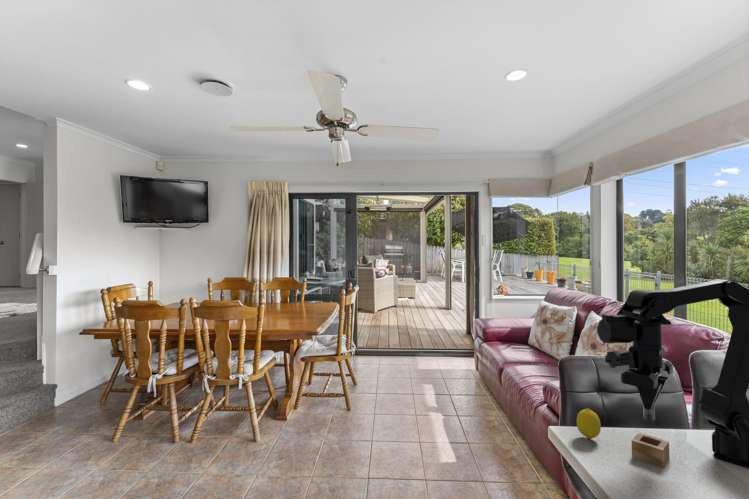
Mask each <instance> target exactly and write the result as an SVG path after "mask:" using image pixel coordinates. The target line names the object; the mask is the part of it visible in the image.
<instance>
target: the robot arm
mask: <svg viewBox="0 0 749 499" xmlns="http://www.w3.org/2000/svg"><path fill="white" fill-rule="evenodd" d="M711 300H717V301H718V302H719V303H720V304H721V305H722V306H725V307H726V308H728V310H727V317H728V320H729V322H730V325H731V327H732V331H731V335H730V338H729V341H728V344H727V345H728V346H727V349H726V352H725V356H724V359H723V362H722V366H721V369H720V374H719V378H718V382H717V384H716V385H715V386H713V387H712V388H711V389H709V388H706V387H705V388H703V389H702V394H701V397H700V399H699V401H698V404H700V408H699V409H700V412H701V413H702V414H703V416H704V417H705V419H706V422H707V425H709V426H712V427H714V431H712V434H711V450H712V452H714V453H713V457H714V458H716V459H719V460H722V461H726V462H729V463H731V464H735V465H738V466H741V467H745V468H747V469H748V468H749V400H748V396H747V391H748V388H749V288H748V287H744V286H743V285H741V284H740V283H739V282H736V281H734V280H731V279H721V278H720V279H718V278H717V279H712V280H709V281H705V282H699V283H696V284H695V283H694V284H690V285H683V286H679V287H674V288H669V289H634V290H632V291H630V292H629V293H628V295H627V298H626V301H625V302H624V304H623V305H622V306H621V308H620V309H619V310H618V311H617V313H616V314H612V315H611V314H608V313H607V314H605V313H604V314H601V319H600V320H599V321H598V324H597V327H596V331H597V336H598V338H599V340H600V341H601V342H602V343H605V344H631V343H632V345H630V346H629V347H628V349H626V350H619V351H617V350H612V351H610V350H609V351H607V353H606V354H605V356H604V357H605V360H604V361H605V363H606V364H608V365H609V368H610V369H613V368H617V367H622V366H623V367H624V366H628V369H627V370H625V371H623V372H622V373H621V374H620V382H621V383H622V384H624V385H629V386H634V387H636V389H637V391H638V394H639V396H640V398H641V402H642V406H643V405H644V408H645V409H648V410H650V409H651V407H652V405H653V403H655V404H656V403H657V401H658V399H659V396H660V395H661V393H662V390H663V389H664V387H665V385H666V384H667V381H668V380H669V378H668V377H667V376H663V375H661V373H662V372H663V371H664V372H666V373H667V375H672V374H673V373H674V365H673V364H672V362H670V361H669V360H667V359H664V358H663V354H664V353H665V347H664V346H663V332H662V330H663V329H662V327H663V326H671V325H672V322H671V321H670V320H669V319H667V318H666V317H665V316H664V315H665V314H667V313H670V312H672V311H673V310H674V309H675V308H678V307H681V306H686V305H690V304H697V303H702V302H706V301H711Z"/></svg>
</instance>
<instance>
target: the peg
mask: <svg viewBox="0 0 749 499" xmlns="http://www.w3.org/2000/svg"><path fill="white" fill-rule="evenodd" d="M655 404H656V403H653V405H652V407H651V409H650V410H648V409H645V408H644V405H643V404H642V406H643V408H642V410H643V411H642V412H643V413H642V414H643V415H642V416H643V419H644V420H648V421H655V420H656V415H655V414H656V413H655V412H656V411H655V410H656V408H655V406H656V405H655Z"/></svg>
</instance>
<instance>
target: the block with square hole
mask: <svg viewBox="0 0 749 499" xmlns="http://www.w3.org/2000/svg"><path fill="white" fill-rule="evenodd" d="M631 458H633V459H636V460H640V461H642V462H645V463H648V464H651V465H653V466H657V467H659V468H662V469H664V468H665V466H666V465H667V464H668V462H669V460H670V441H669V440H664V439H662V438H658V437H656V436H652V435H649V434H645V433H642V432H637V434H636V435H635V436H634V437H633V438H632V439H631Z"/></svg>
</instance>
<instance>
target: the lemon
mask: <svg viewBox="0 0 749 499" xmlns="http://www.w3.org/2000/svg"><path fill="white" fill-rule="evenodd" d="M601 425H602V424H601V420H600V418H599V416H598V414H597V413H596V412H594V411H593V410H591V409H590V408H585V409H582V410H580V411H579V412H578V413H577V416H576V427H577V430H578V432H579V433H580V434H581V435H582V436H584V437H585V438H586V439H587V440H592V439H593V438H594V439H595V438H597V437H598V436H599V435H600V434H601V428H602V426H601Z"/></svg>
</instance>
